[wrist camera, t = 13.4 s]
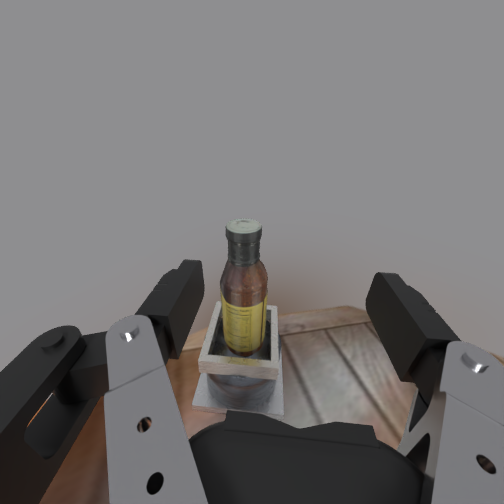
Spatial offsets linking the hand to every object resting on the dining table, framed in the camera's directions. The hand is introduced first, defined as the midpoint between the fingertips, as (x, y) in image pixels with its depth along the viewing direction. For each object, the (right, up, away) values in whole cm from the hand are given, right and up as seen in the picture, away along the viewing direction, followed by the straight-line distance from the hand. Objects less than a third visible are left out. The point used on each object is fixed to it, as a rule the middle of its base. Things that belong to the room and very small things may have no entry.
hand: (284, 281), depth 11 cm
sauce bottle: (-3, -13, +24) cm, 28 cm away
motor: (-3, -21, +29) cm, 36 cm away
